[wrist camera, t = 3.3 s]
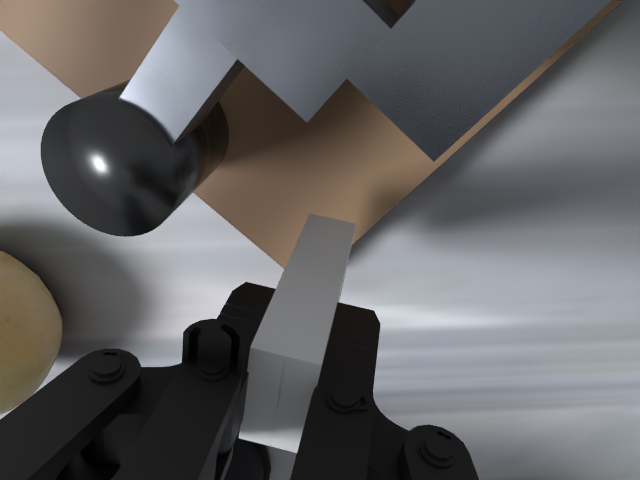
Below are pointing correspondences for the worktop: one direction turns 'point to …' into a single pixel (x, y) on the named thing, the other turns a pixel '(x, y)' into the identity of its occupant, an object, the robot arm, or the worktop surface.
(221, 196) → the base
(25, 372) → the onion
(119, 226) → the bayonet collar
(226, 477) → the aerosol can
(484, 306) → the worktop surface
